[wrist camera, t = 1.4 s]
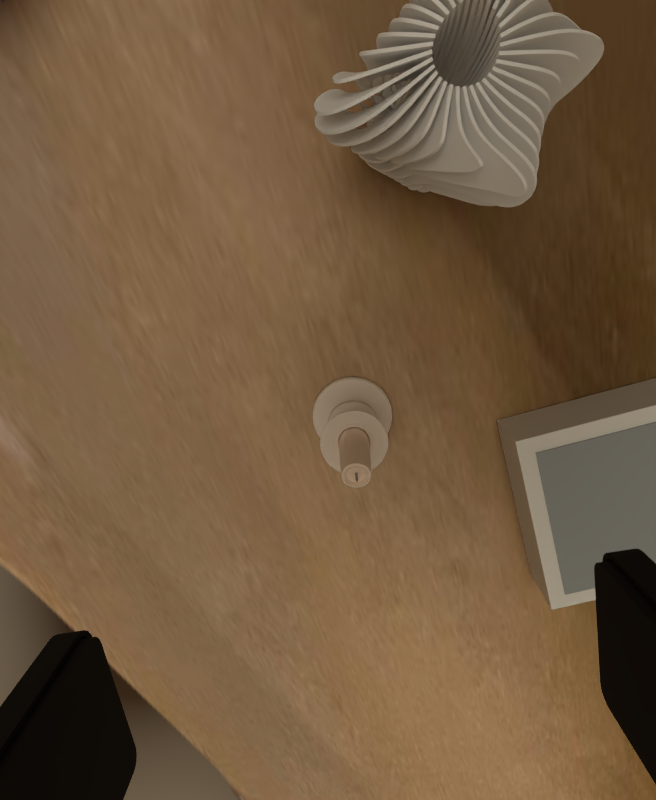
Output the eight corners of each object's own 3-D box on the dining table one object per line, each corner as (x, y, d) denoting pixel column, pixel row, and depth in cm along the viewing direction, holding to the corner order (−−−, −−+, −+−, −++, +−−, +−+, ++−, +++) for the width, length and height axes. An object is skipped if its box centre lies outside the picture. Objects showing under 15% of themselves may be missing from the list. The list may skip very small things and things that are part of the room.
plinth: (683, 370, 34) (728, 387, 30) (703, 532, 37) (746, 567, 33) (496, 420, 35) (516, 442, 31) (530, 573, 39) (552, 611, 35)
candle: (389, 452, 36) (408, 531, 26) (311, 450, 36) (301, 528, 26) (394, 377, 35) (415, 430, 25) (313, 375, 35) (302, 427, 25)
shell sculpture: (432, 241, 32) (538, 239, 15) (315, 163, 31) (285, 65, 14) (517, 111, 30) (750, -62, 13) (395, 23, 29) (474, -293, 12)
